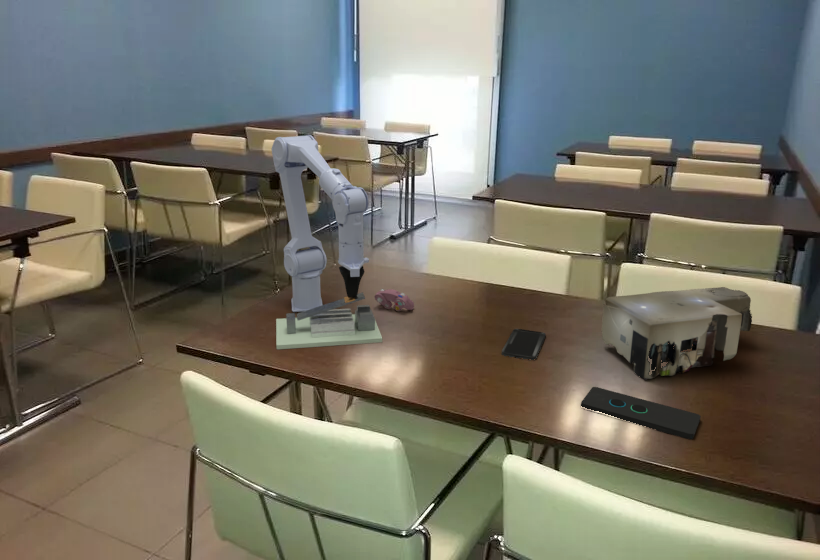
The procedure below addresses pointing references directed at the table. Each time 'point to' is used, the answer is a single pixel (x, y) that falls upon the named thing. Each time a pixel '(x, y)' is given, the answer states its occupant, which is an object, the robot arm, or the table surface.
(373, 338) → the pale green board
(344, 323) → the heat sink
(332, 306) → the bar
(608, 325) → the grey boxy piece
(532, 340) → the phone
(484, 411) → the table surface
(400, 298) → the pink plastic car shape
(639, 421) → the smart home device
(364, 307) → the hinge and catch
